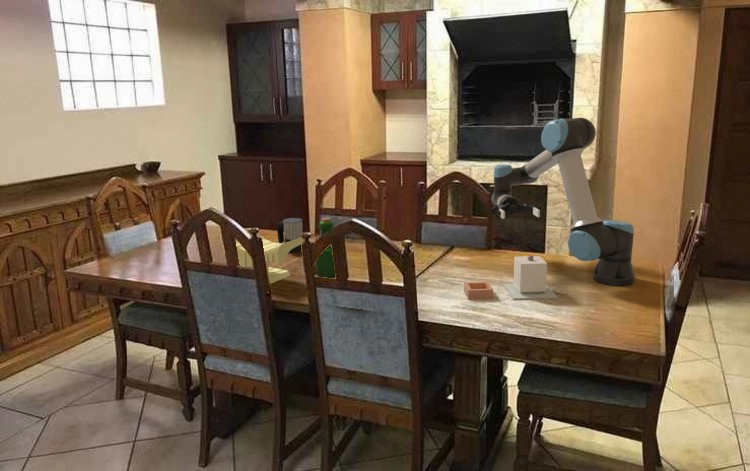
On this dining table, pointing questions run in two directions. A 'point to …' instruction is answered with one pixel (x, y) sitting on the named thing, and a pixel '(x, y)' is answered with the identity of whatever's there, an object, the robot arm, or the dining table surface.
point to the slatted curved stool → (269, 256)
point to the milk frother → (290, 231)
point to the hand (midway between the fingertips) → (521, 214)
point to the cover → (530, 274)
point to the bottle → (325, 253)
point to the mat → (521, 296)
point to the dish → (478, 290)
